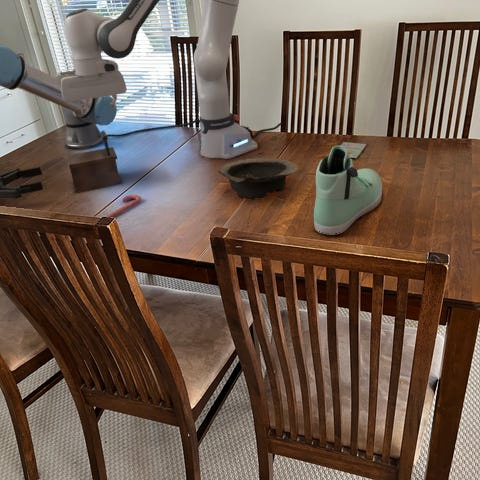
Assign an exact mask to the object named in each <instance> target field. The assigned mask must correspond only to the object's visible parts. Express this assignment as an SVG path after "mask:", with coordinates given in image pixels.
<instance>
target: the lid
mask: <svg viewBox="0 0 480 480" xmlns="http://www.w3.org/2000/svg"><path fill="white" fill-rule="evenodd" d="M100 132H101V135H102V138H103V144H104V148H101V149H95V150H89V151H84V152H79V153H73V154H68V155H66V156H67V157H66V158H67V162H68V167H69V169H70V168H74V167H79V166H85V165H90V164H95V163H100V162H105V161H111V160H118V155H117V153H116V151H115V148H114V146H110V147H109V143H108V140H109V137H107V135H108V134H107V132H106V131H105V130H100Z"/></svg>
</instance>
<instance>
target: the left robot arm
mask: <svg viewBox="0 0 480 480" xmlns="http://www.w3.org/2000/svg"><path fill="white" fill-rule="evenodd" d="M0 87H3V88H4V89H7V90H9V91H13V90H16V89H19V90H22V91H24V92H26V93H29V94H31V95H33V96H36V97H39V98H41V99H43V100H46V101H48V102H51V103H52V104H56V105H57V106H60V108H61V113H62V116H63V119H64V123H65V126H66V133H65V144H66V148H68V149H70V150H85V149H92V148H94V147H97V146H99V145H102V143H104V140H103V138H102V135H101V130H100V129H99V127H98V126H109V125H110V124H111V123H113V122H114V120H115V119H116V117H117V110H118V108H117V105H116V103H117V102H116V103H115V107H116V109H111V107H110V103H112V101H113V98H112V96H104V97H98V98H92V99H85V100H80V105H81V106H82V107H85V109H86V113H87V114H82V112H81V109H80V108H79V107H78V106H77V105H76V103H75V101H73V102H65V101H64V100H63V98H62V93H61V86H59V85H58V83H57V80H56V76H53V75H51V74H50V73H47V72H44V71H43V70H40V69H38V68H36V67H34V66H32V65H30V64H28V63H27V62H26V60H25V58H24V57H23V56H21V55H19V54H17V53H16V52H15V51H14V50H13V49H12V48H10V47H9V46H7V45H4V44H0ZM195 123H199V124H200V119H194V120H192V121H190V122H186V123H180V124H174V125H166V126H165V125H163V126H157V127H149V128H143V129H137V130H132V131H128V132H125V133H120V134H119V133H118V134H108V133H107V134H106V135H107V137H108V138H109V137H110V138H111V137H112V138H120V137H126V136H129V135H133V134H137V133H142V132H149V131H156V130H164V129H173V128H180V127H187V126H191V125H193V124H195ZM38 176H43V172H42V168H41V166H37V167H32V168H26V169H23V170H22V169H20V167H17V168H15V169H12V170H9V171H6V172H3V173H0V199H1V200H3V199H6V200H7V199H9V200H10V199H19V198H23V195H25V194H29V193H34V192H40V191H43V190H44V187H43V184H42V181H35V182H31V183H25V184H20V185H19V186H11V185H8V184H12V183H13V182H15V181H17V180H19V179H27V178H33V177H38Z"/></svg>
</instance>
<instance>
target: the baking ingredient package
mask: <svg viewBox="0 0 480 480" xmlns="http://www.w3.org/2000/svg"><path fill="white" fill-rule="evenodd" d="M340 146H342V147H344V148H345V149H346V150H347V152H348V153H349V156H350V159H352V158H354V159H357V158H358V157H359V155H360V154H361V153H362V151H363V150H364V149H365V147H366V146H367V143H358V142H347V141H343V142H342V143H341V144H340Z"/></svg>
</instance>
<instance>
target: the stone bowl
mask: <svg viewBox="0 0 480 480" xmlns="http://www.w3.org/2000/svg"><path fill="white" fill-rule="evenodd" d="M298 170H299V169H298V167H297V166H296V164H295V163H293V162H291V161H289V160H287V159H281V158H272V157H271V158H269V157H255V158H243V159H239V160H235V161H232V162H231V161H230V162H228V163H225V164H223V165H222V166H221V168H220V169H219V170H217V173H219V174H220V175H221V176H223V177H224V178H226V179H227V180H228V182H229V186H230V188H231V190H232V191H234V192H235V193H236V196H237V198H239V199H241V200H243V199H245V200H251V201H252V200H255V199H257V200H262V199H264V198H266V197H267V196H268V193H269V194H273V193H281V192H282V191H284V190H285V189H284V188H285V185H286V183H287V182H286V181H287V177H289V176H290V175H292V174H294V173H296V172H297V171H298Z"/></svg>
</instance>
